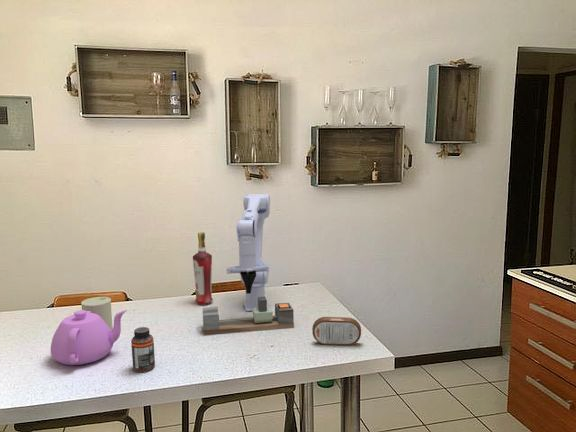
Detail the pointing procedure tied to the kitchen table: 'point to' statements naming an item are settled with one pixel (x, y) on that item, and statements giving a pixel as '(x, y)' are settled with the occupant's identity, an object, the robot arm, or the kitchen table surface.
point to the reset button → (283, 306)
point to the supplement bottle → (142, 350)
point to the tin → (336, 331)
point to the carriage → (262, 311)
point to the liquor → (202, 272)
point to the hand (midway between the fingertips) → (248, 292)
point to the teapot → (84, 338)
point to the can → (99, 308)
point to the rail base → (245, 321)
